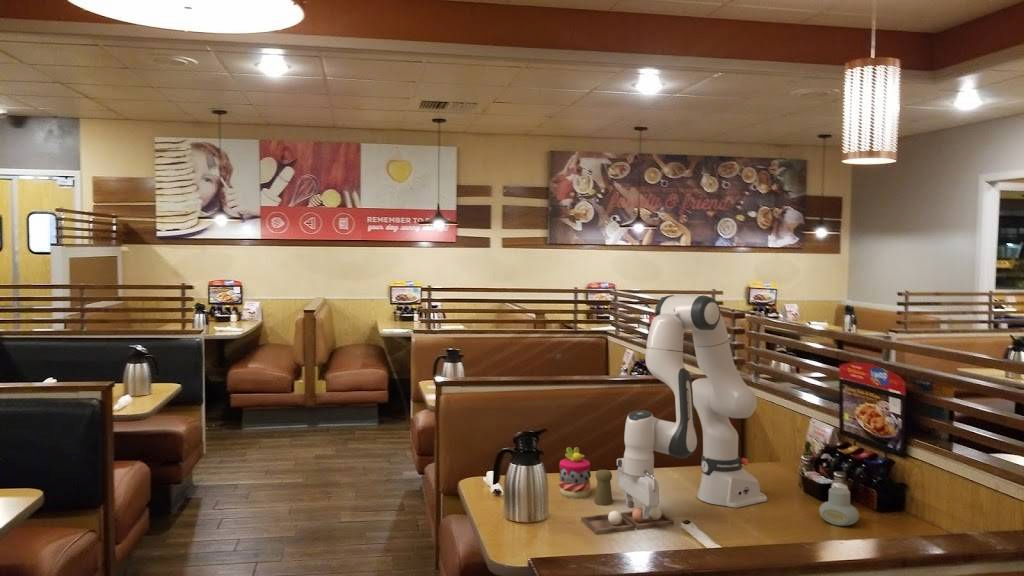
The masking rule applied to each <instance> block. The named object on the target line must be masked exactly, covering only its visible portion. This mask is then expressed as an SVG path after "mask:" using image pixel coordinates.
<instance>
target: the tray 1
mask: <svg viewBox="0 0 1024 576" xmlns="http://www.w3.org/2000/svg"><path fill="white" fill-rule="evenodd" d="M608 515H609V513H605V514H596V515H588V516H580V522H581V523H582V524H583V525H584V526H586V527H587V528H588V529H589V530H590V531H591V532H592V533H593V534H595V535H598V536H599V535H604V534H605V535H606V534H614V533H621V532H629V531H635V528H634V525H633V524H631V523H630V522H629V521H627V520H626V519H625V518H623V517H622V520H621V522H620V523H619V524H618V525H613V524H611V523H610V522H609V520H608Z"/></svg>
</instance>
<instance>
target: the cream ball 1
mask: <svg viewBox="0 0 1024 576" xmlns="http://www.w3.org/2000/svg"><path fill="white" fill-rule="evenodd" d="M620 513H621V512H620V511H618V510H611V511H610V512H609V513H608V514H609V515H608V520H609V522H610V523H611V524H613V525H618V524H619V523H620V522H621V520H622V516H621V514H620Z"/></svg>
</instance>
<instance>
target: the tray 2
mask: <svg viewBox="0 0 1024 576" xmlns="http://www.w3.org/2000/svg"><path fill="white" fill-rule="evenodd" d="M633 511H634V510H632V511H622V512H619V513H620V514H621V516H622V517H623V518H625V519H626V520H627V521H629V522H630V523H631V524H633V525H634V529H636V530H637V531H638V530H646V529H647V530H648V529H654V528H655V529H656V528H662V527H663V528H664V527H672V526H675V521H674V520H673V519H672V518H671V517H669V516H668V515H666V514H665V513H663V512H661V517H660V519H658V520H652V519H650V518H648V519H645V520H644V521H642V522H637V521H635V520H634V519H633V516H632V513H633Z"/></svg>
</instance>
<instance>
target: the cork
mask: <svg viewBox="0 0 1024 576" xmlns="http://www.w3.org/2000/svg"><path fill="white" fill-rule="evenodd" d="M595 478H596V488H595V495H594V501H593V502H594V504H596V505H598V506H601V507H602V506H603V507H604V506H605V507H607V506H611V505H613V503H614V501H613V494H612V485H611V480H612V479H613V473H612V472H611V471H610V470H608V469H599V470H597V471H596V472H595Z"/></svg>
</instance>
